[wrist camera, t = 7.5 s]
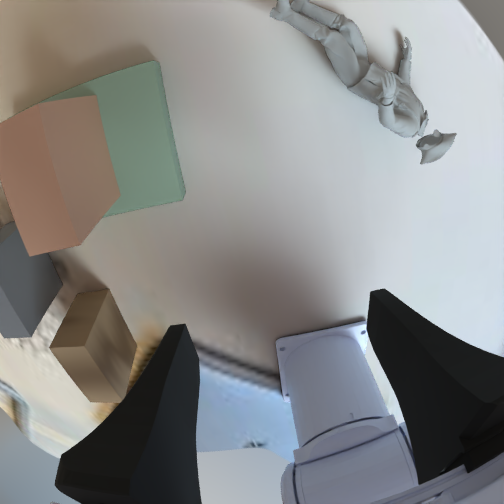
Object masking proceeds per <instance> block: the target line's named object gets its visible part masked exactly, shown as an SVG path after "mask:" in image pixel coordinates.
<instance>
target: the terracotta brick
mask: <svg viewBox="0 0 504 504" xmlns="http://www.w3.org/2000/svg"><path fill="white" fill-rule="evenodd" d="M0 180H1V183H2V186H3V189H4V192H5V195H6V198H7V201H8V204H9V207H10V210H11V212H12V215H13V218H14V220H15V223H16V226H17V228H18V231H19V233H20V236H21V238H22V240H23V243H24V245H25V247H26V250H27V252H28V254H29V256H34V255H39V254H43V253H47V252H52V251H56V250H61V249H65V248H70V247H74V246H79V245H81V243H82V242H83V241H84V240H85V238H86V237H87V236H88V234H89V233H90V232H91V231H92V229H93V228H94V227H95V226H96V224H97V223H98V222H99V221H100V219H101V218H102V217H103V216H104V215H105V213H106V212H107V211H108V210H109V209H110V207H111V206H112V205H113V204H114V203H115V202H116V200H117V199H118V198H119V197H120V196H121V194H120V191H119V187H118V184H117V180H116V176H115V173H114V169H113V165H112V162H111V158H110V154H109V150H108V146H107V142H106V137H105V133H104V129H103V124H102V120H101V115H100V111H99V106H98V101H97V96H96V95H92V96H83V97H76V98H68V99H62V100H55V101H50V102H44V103H38V104H36V105H34V106H32V107H30V108H28V109H26V110H24V111H22V112H20V113H18V114H16V115H15V116H13V117H11V118H9V119H7V120H5V121H4V122H2V123H0Z"/></svg>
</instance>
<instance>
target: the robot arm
mask: <svg viewBox="0 0 504 504" xmlns="http://www.w3.org/2000/svg"><path fill="white" fill-rule="evenodd" d="M368 336H369V339H370V342H371V344H372V347H373V350H374V352H375V354H376V356H377V358H378V360H379V362H380V364H381V366H382V368H383V370H384V372H385V374H386V376H387V378H388V380H389V382H390V384H391V386H392V388H393V390H394V392H395V395H396V397H397V399H398V402H399V405H400V408H401V411H402V414H403V417H404V420H405V422H403V423H401V424H399V426H398V425H397V422H396V420H395V417H394V415H393V414H392V415H390V414H389V412H388V409H387V407H386V405H385V402H384V400H383V397H382V395H381V393H380V390H379V388H378V386H377V383H376V381H375V379H374V376H373V374H372V372H371V369H370V367H369V365H368V362H367V360H366V358H365V351H366V345H367V338H368ZM281 347H283V348H281ZM276 350H277V357H278V364H279V371H280V379H281V386H282V393H283V400H284V402H290V403H291V408H292V413H293V418H294V423H295V428H296V433H297V438H298V443H299V449H296V450H294V451H293V452H294V458H295V462H293V463H290V464H288V465H287V467H286V469H285V471H284V473H283V475H282V478H281V495H282V501H283V504H504V357H501V356H498V355H495V354H492V353H489V352H487V351H484V350H482V349H479V348H477V347H475V346H472V345H470V344H468V343H466V342H464V341H462V340H460V339H458V338H456V337H455V336H453V335H451V334H449V333H447V332H446V331H444V330H442V329H441V328H439V327H438V326H436V325H435V324H433V323H431V322H430V321H428V320H427V319H426V318H424V317H423V316H421V315H420V314H418V313H417V312H416V311H414V310H413V309H412V308H410V307H409V306H407V305H406V304H405V303H403V302H402V301H401V300H399V299H398V298H397V297H395V296H394V295H393V294H391V293H390V292H389V291H387V290H386V289H380V290H375V291H371V292H370V301H369V310H368V318H367V321H362V322H358V323H353V324H349V325H344V326H340V327H335V328H330V329H326V330H321V331H316V332H311V333H306V334H300V335H295V336H290V337H284V338H280V339H278V340H277V341H276ZM199 386H200V370H199V357H198V355H197V352H196V350H195V347H194V345H193V342H192V340H191V337H190V334H189V332H188V329H187V327H186V324H179V325H171V326H170V327H169V328H168V330H167V332H166V334H165V335H164V337H163V339H162V341H161V343H160V344H159V346H158V348H157V350H156V351H155V353H154V355H153V356H152V358H151V360H150V361H149V363H148V365H147V366H146V368H145V369H144V371H143V373H142V374H141V375H140V377H139V378H138V380H137V381H136V383H135V384H134V386H133V387H132V389H131V390H130V391H129V393H128V394H127V395H126V396H125V398H124V399H123V400H122V401H121V403H120V404H119V405H118V406H117V407H116V408H115V409H114V411H113V412H112V413H111V414H110V415H109V416H108V417H107V418H106V419H105V420H104V421H103V422H102V423H101V424H100V425H99V426H98V427H97V428H96V429H95V430H93V431H92V432H91V433H90V434H89V435H88V436H86V437H85V438H84V439H83V440H81V441H80V442H79V443H77V444H76V445H75V446H73V447H72V448H71V449H69V450H68V451H66V452H65V453H63V454H62V455H61V458H60V463H59V466H58V470H57V475H56V480H55V486H56V488H57V489H58V490H59V491H61V492H62V493H64V494H65V495H67V496H69V497H71V498H72V499H74V500H76V501H78V502H80V503H81V504H202V502H201V496H200V487H199V479H198V468H197V452H196V423H197V411H198V399H199ZM50 504H58V503H55V502H51V503H50Z"/></svg>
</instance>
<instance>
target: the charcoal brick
mask: <svg viewBox="0 0 504 504" xmlns="http://www.w3.org/2000/svg"><path fill="white" fill-rule="evenodd" d="M62 285H63V284H62V282H61V280H60V278H59V276H58V274H57V272H56V270H55V268H54V265H53V263H52V261H51V259H50V257H49V254H48V252H47V253H43V254H39V255H34V256H29V254H28V252H27V250H26V247H25V245H24V243H23V240H22V238H21V236H20V233H19V231H18V228H17V226H16V223H15V221H13V222H11V223H8V224H6V225H5V226H4V227H2V228H1V229H0V333H1V334H2V336H3V337H4V338H24V337H32V335H33V333H34V331H35V330H36V328H37V326H38V324H39V323H40V321H41V319H42V318H43V316H44V314H45V313H46V311H47V309H48V308H49V306H50V304H51V303H52V301H53V299H54V298H55V296H56V295H57V293H58V291H59V290H60V288H61V287H62Z"/></svg>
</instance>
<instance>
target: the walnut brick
mask: <svg viewBox="0 0 504 504" xmlns="http://www.w3.org/2000/svg"><path fill="white" fill-rule="evenodd" d="M49 348H50V350H51V351H52V353H53V354H54V356H55V357H56V358H57V360H58V361H59V363H60V364H61V365H62V367H63V368H64V369H65V371H66V372H67V373H68V375H69V376H70V377H71V379H72V380H73V381H74V382H75V384H76V385H77V386H78V388H79V389H80V390H81V391H82V392H83V394H84V395H85V396H86V397H87V399H88V400H89V401H90V402H106V403H121V401H122V400H123V399H124V398H125V395H126V391H127V386H128V382H129V377H130V373H131V369H132V364H133V360H134V356H135V352H136V348H137V344H136V342H135V340H134V339H133V337H132V335H131V333H130V331H129V329H128V327H127V325H126V323H125V321H124V319H123V317H122V315H121V313H120V311H119V309H118V307H117V304H116V302H115V300H114V298H113V296H112V294H111V291H110V289H106V290H100V291H93V292H86V293H79V294H77V296H76V298H75V299H74V301H73V303H72V305H71V307H70V308H69V310H68V312H67V314H66V316H65V318H64V320H63V321H62V323H61V325H60V327H59V329H58V331H57V333H56V335H55V337H54V339H53V341H52V343H51V345H50V347H49Z"/></svg>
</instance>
